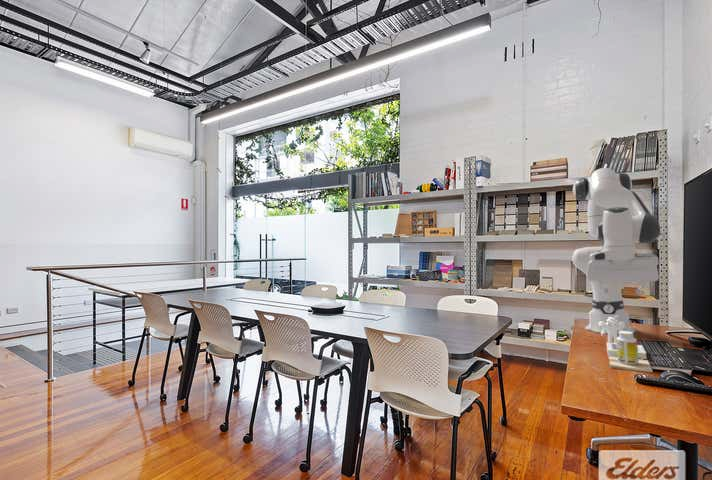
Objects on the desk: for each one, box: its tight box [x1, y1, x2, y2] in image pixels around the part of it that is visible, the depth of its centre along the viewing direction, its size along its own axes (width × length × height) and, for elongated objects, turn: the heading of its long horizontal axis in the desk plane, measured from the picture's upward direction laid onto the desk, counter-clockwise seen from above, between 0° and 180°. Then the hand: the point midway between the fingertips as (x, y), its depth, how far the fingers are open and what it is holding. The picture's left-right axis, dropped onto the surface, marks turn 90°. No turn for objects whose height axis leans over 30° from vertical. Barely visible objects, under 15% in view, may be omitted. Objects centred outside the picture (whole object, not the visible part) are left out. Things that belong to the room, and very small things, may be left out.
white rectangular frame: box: [606, 342, 648, 360], centre depth 136 cm, size 11×11×2 cm
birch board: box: [608, 357, 653, 373], centre depth 125 cm, size 11×11×1 cm
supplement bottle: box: [617, 331, 638, 365], centre depth 126 cm, size 6×6×10 cm
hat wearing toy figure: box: [599, 315, 625, 343], centre depth 149 cm, size 9×4×12 cm, turn 66°
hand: (622, 294), depth 128 cm, fingers open, 8 cm apart
